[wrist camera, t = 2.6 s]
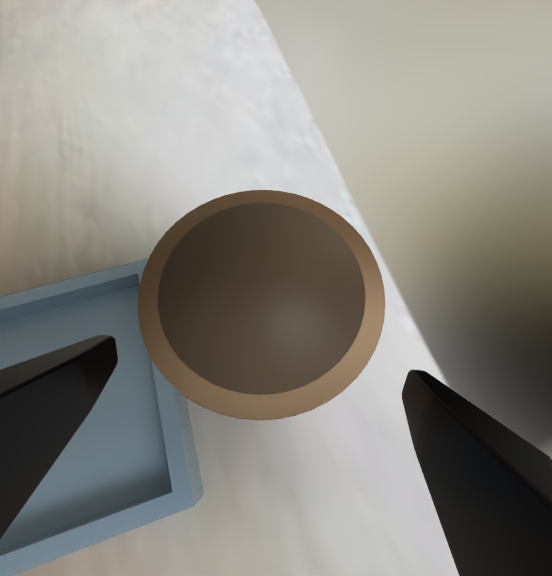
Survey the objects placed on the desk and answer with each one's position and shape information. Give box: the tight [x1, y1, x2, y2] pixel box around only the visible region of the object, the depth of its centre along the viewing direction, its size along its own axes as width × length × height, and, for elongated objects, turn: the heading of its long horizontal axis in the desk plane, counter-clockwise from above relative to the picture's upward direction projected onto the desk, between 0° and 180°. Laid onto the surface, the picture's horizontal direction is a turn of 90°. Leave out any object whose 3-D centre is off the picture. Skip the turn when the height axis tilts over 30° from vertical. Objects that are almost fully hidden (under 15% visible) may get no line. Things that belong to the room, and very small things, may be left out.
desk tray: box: [0, 259, 204, 576], centre depth 16 cm, size 13×13×2 cm
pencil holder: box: [138, 190, 385, 420], centre depth 12 cm, size 6×6×12 cm
